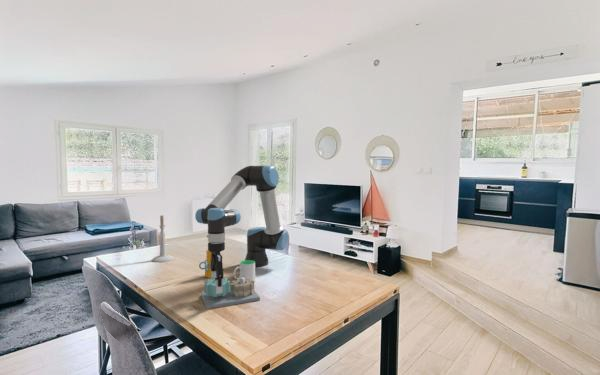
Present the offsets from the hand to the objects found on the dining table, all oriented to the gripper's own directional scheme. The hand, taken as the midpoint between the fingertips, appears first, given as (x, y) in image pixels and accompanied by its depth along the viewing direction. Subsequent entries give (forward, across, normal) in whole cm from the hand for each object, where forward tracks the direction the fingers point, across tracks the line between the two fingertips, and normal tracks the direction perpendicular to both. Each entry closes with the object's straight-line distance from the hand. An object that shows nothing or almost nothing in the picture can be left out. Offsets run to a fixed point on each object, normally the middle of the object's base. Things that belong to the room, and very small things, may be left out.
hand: (216, 288), depth 154 cm
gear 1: (+2, 0, 0) cm, 2 cm away
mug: (+5, -19, +18) cm, 27 cm away
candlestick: (+5, -84, -20) cm, 86 cm away
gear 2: (+4, 0, +12) cm, 13 cm away
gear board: (+5, 0, +6) cm, 8 cm away
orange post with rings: (+5, -36, +3) cm, 36 cm away
